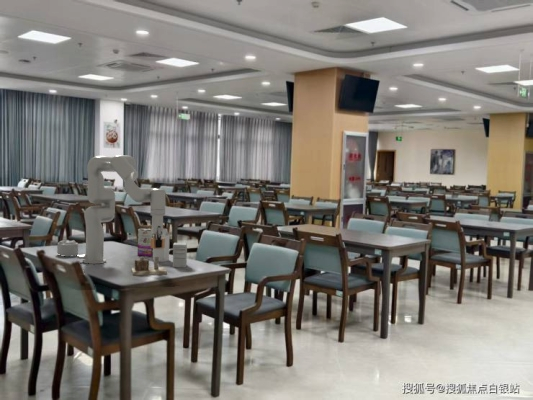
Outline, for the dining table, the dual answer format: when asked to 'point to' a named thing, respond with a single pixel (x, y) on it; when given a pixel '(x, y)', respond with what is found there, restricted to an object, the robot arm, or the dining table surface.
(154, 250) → the milk carton
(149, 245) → the candy bar box
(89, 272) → the dining table surface
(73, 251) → the lumpy-topped squat cylinder
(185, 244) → the supplement box
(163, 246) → the orange gear
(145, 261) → the gear board
